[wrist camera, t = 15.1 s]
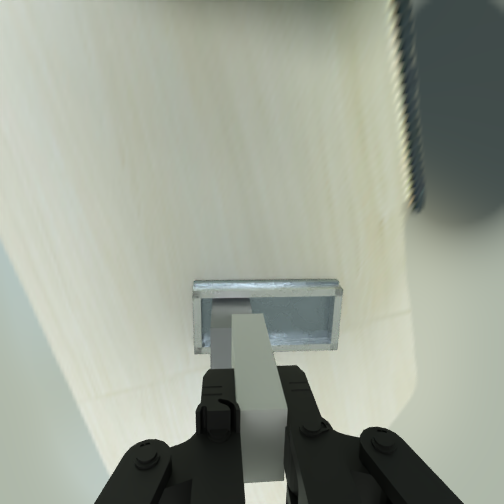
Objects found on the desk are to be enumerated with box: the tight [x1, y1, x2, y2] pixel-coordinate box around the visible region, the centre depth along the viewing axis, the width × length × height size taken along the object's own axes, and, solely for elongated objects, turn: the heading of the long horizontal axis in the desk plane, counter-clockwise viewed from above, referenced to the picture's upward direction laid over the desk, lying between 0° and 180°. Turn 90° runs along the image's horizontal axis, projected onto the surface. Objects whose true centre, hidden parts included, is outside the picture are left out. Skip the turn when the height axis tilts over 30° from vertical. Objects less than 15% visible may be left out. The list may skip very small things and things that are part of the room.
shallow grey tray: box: [193, 279, 343, 354], centre depth 49 cm, size 10×20×3 cm, turn 89°
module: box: [210, 298, 252, 369], centre depth 44 cm, size 6×5×9 cm
